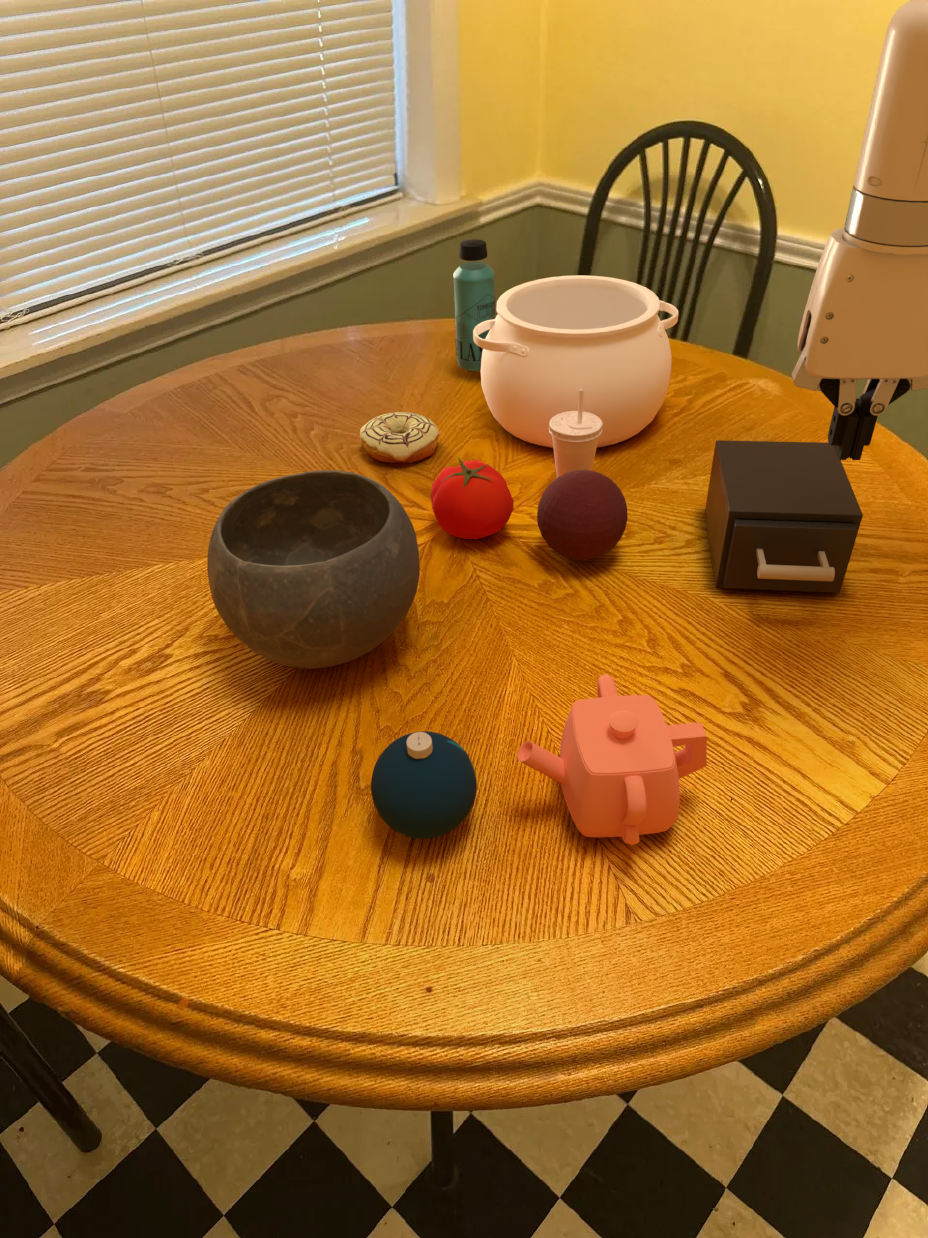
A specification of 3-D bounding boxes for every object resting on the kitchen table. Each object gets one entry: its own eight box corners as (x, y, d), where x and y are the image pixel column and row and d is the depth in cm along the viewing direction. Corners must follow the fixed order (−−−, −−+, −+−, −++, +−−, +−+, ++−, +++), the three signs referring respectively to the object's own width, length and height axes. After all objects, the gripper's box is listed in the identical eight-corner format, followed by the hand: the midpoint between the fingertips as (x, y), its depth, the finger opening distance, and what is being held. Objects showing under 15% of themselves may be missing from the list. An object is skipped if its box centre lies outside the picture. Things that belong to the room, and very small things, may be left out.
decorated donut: (409, 475, 114) (407, 450, 111) (347, 456, 119) (343, 431, 116) (453, 442, 120) (452, 417, 118) (392, 425, 125) (389, 400, 123)
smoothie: (578, 511, 105) (583, 405, 96) (537, 494, 109) (538, 390, 100) (608, 489, 109) (616, 385, 100) (568, 473, 112) (571, 371, 103)
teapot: (512, 806, 72) (510, 727, 65) (601, 728, 78) (607, 648, 72) (626, 890, 65) (636, 810, 59) (713, 797, 71) (730, 716, 65)
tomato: (456, 500, 109) (452, 441, 103) (529, 520, 104) (529, 459, 99) (416, 538, 102) (410, 477, 97) (492, 561, 98) (490, 498, 93)
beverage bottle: (448, 375, 138) (440, 244, 125) (472, 360, 142) (466, 232, 129) (482, 384, 134) (478, 250, 122) (505, 368, 139) (503, 238, 126)
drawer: (846, 618, 86) (866, 554, 81) (728, 613, 88) (740, 549, 83) (814, 520, 100) (830, 460, 95) (712, 517, 101) (722, 458, 96)
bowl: (413, 565, 98) (400, 447, 89) (439, 688, 83) (428, 562, 73) (233, 590, 96) (201, 472, 87) (226, 721, 81) (186, 595, 71)
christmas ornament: (483, 855, 68) (478, 773, 62) (377, 865, 68) (361, 783, 61) (474, 773, 74) (469, 691, 68) (377, 782, 74) (363, 700, 68)
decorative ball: (533, 529, 103) (534, 455, 96) (617, 525, 103) (623, 451, 96) (540, 580, 95) (541, 503, 89) (630, 576, 95) (638, 498, 89)
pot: (502, 474, 113) (500, 354, 102) (456, 391, 133) (450, 283, 122) (704, 441, 117) (722, 322, 107) (630, 365, 137) (639, 259, 127)
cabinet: (840, 593, 91) (863, 515, 85) (715, 588, 93) (729, 510, 86) (814, 516, 102) (833, 442, 96) (704, 513, 104) (715, 439, 98)
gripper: (1003, 197, 61) (929, 430, 73) (784, 203, 63) (746, 429, 75) (1043, 229, 55) (955, 477, 67) (801, 235, 57) (757, 474, 69)
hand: (845, 451), depth 71 cm, fingers closed
